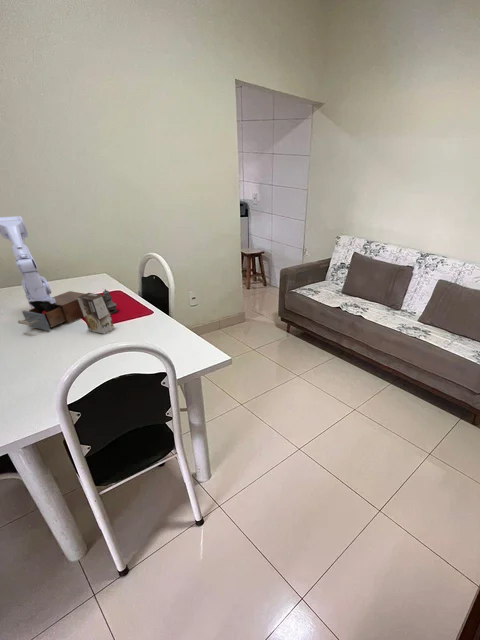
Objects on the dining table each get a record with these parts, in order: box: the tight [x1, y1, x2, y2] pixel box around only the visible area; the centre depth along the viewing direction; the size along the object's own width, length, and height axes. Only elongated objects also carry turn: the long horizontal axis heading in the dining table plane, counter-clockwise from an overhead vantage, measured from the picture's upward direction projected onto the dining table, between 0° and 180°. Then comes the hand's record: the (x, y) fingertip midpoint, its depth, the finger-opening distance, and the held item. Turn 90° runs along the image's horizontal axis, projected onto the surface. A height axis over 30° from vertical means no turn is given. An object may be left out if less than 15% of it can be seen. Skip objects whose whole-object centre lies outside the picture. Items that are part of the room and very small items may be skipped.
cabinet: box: [51, 290, 85, 325], centre depth 158 cm, size 16×13×9 cm
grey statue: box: [102, 288, 119, 315], centre depth 163 cm, size 6×6×12 cm
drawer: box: [17, 306, 67, 331], centre depth 148 cm, size 19×11×7 cm, turn 163°
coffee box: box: [77, 292, 115, 335], centre depth 145 cm, size 9×6×16 cm
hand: (47, 316), depth 149 cm, fingers closed on pepper, 4 cm apart
